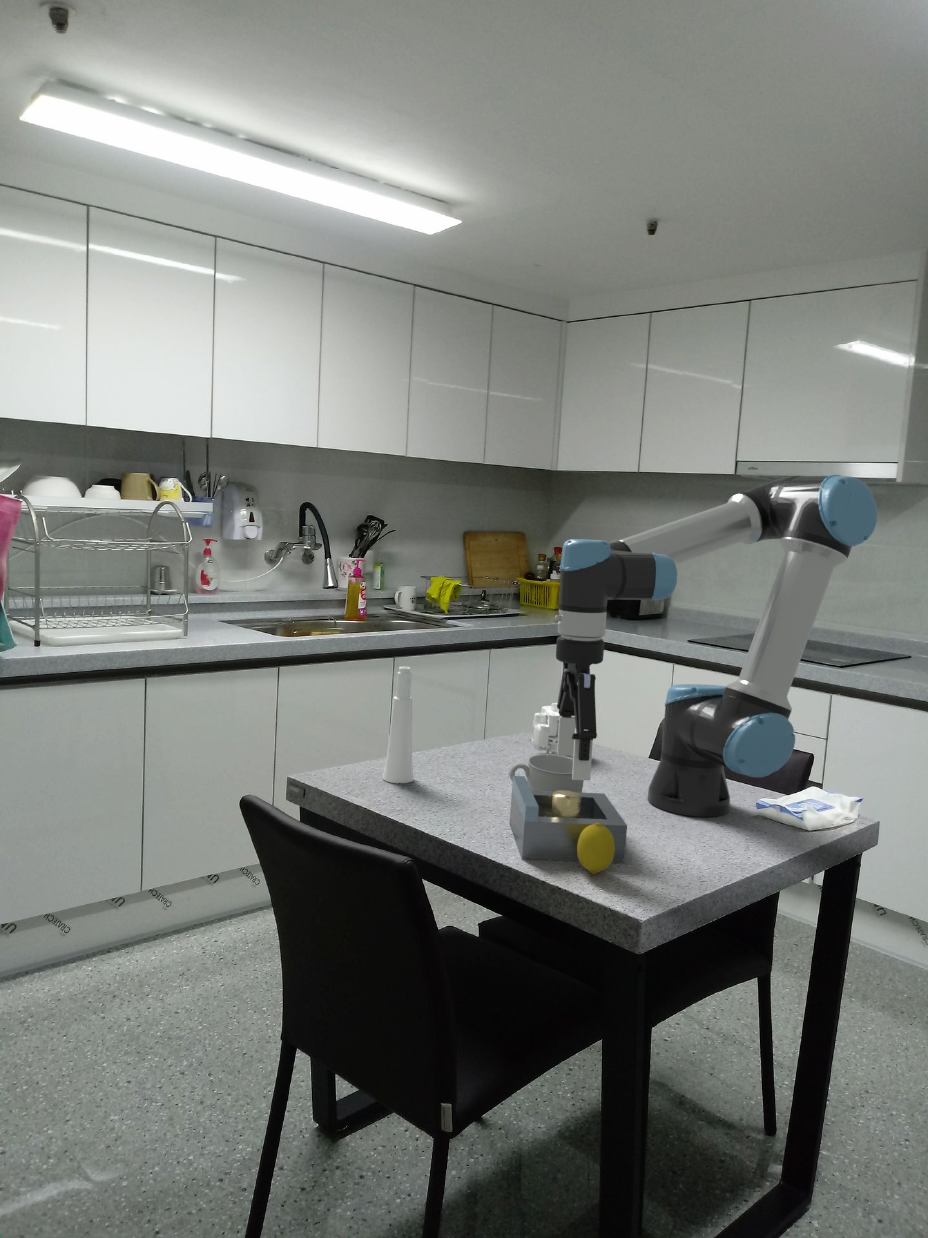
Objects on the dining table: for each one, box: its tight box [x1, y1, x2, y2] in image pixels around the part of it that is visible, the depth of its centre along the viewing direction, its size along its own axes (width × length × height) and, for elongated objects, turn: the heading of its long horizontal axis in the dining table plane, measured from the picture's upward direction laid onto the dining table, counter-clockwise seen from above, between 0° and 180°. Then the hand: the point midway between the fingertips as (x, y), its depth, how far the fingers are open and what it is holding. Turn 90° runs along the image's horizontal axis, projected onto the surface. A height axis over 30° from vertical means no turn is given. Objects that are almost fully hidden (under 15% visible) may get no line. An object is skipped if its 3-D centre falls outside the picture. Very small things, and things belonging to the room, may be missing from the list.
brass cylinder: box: [551, 790, 581, 818], centre depth 151 cm, size 5×5×8 cm
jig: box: [508, 775, 628, 864], centre depth 151 cm, size 16×16×8 cm
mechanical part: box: [530, 702, 576, 758], centre depth 204 cm, size 11×12×12 cm
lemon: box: [577, 822, 615, 875], centre depth 138 cm, size 6×6×8 cm
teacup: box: [508, 753, 585, 793], centre depth 171 cm, size 14×11×8 cm
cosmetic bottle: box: [382, 666, 415, 784], centre depth 179 cm, size 6×6×22 cm
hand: (572, 767), depth 150 cm, fingers open, 13 cm apart
